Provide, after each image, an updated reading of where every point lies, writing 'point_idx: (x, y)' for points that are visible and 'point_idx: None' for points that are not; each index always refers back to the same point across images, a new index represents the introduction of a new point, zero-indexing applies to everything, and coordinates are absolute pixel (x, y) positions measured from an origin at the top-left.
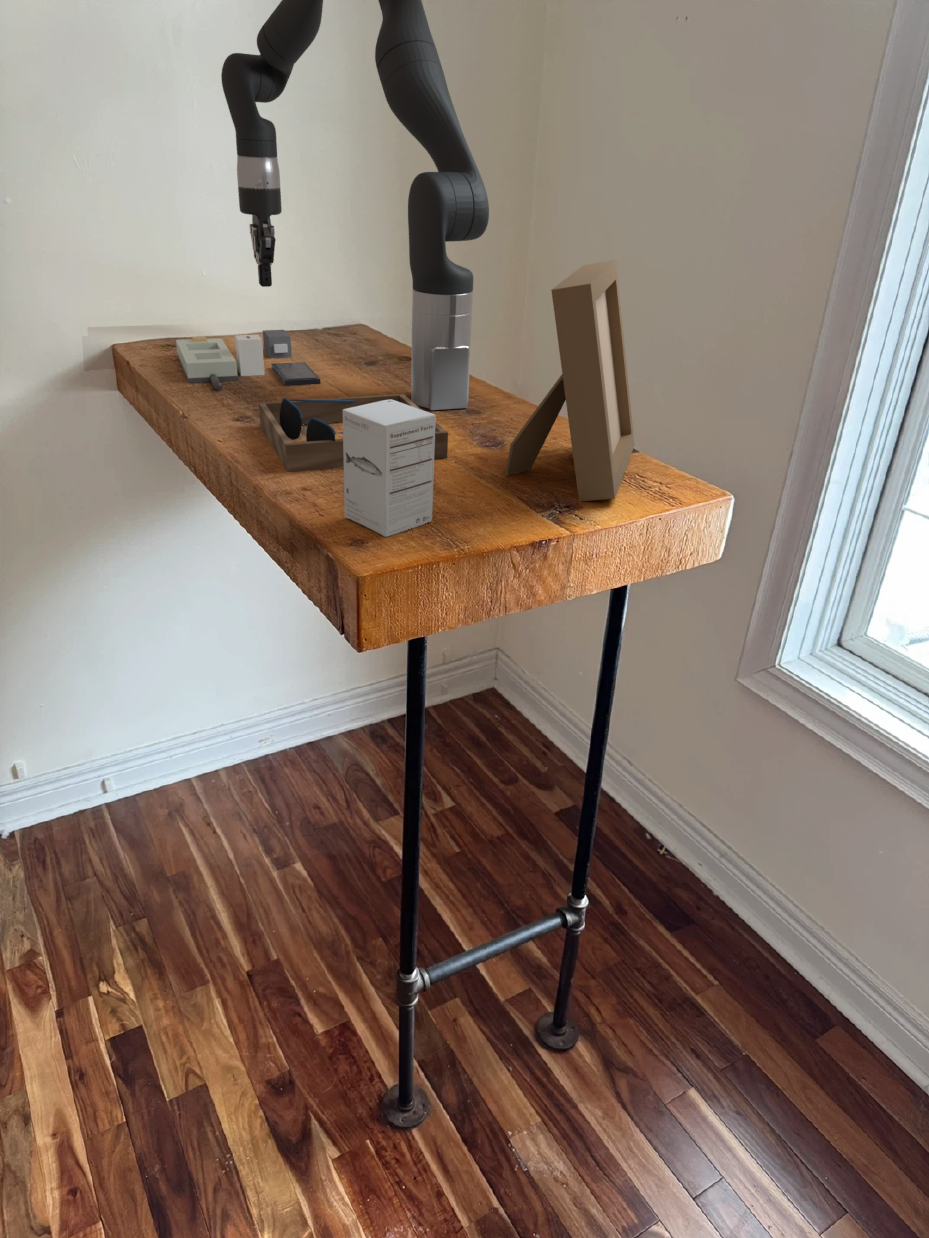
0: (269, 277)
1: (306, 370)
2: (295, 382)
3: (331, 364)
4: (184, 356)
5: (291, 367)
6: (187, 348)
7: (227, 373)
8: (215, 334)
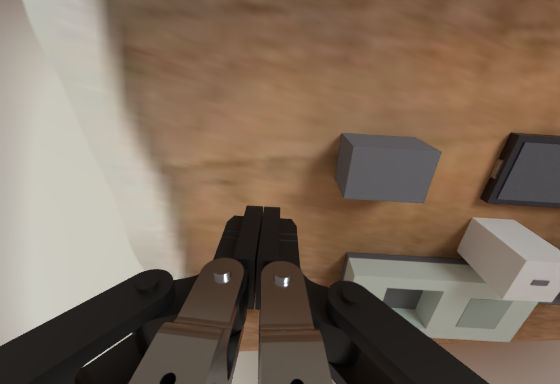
0: (295, 237)
1: None
2: None
3: (530, 60)
4: (463, 338)
5: (547, 176)
6: None
7: None
8: (158, 231)
